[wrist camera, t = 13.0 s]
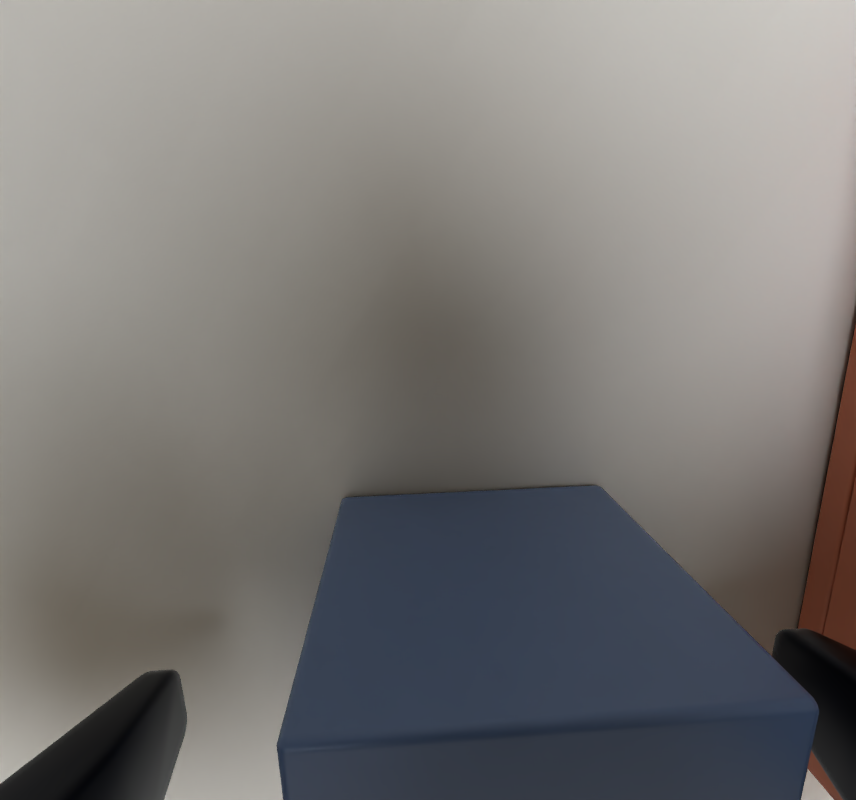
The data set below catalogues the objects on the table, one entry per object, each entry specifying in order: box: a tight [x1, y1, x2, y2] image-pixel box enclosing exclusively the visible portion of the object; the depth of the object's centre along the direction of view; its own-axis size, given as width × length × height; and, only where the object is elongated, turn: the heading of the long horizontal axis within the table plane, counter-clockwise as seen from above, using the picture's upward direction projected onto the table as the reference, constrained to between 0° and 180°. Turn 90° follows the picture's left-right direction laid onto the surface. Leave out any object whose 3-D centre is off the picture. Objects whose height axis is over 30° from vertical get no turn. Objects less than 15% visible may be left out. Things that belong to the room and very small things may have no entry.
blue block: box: [277, 485, 819, 800], centre depth 6 cm, size 4×4×4 cm
